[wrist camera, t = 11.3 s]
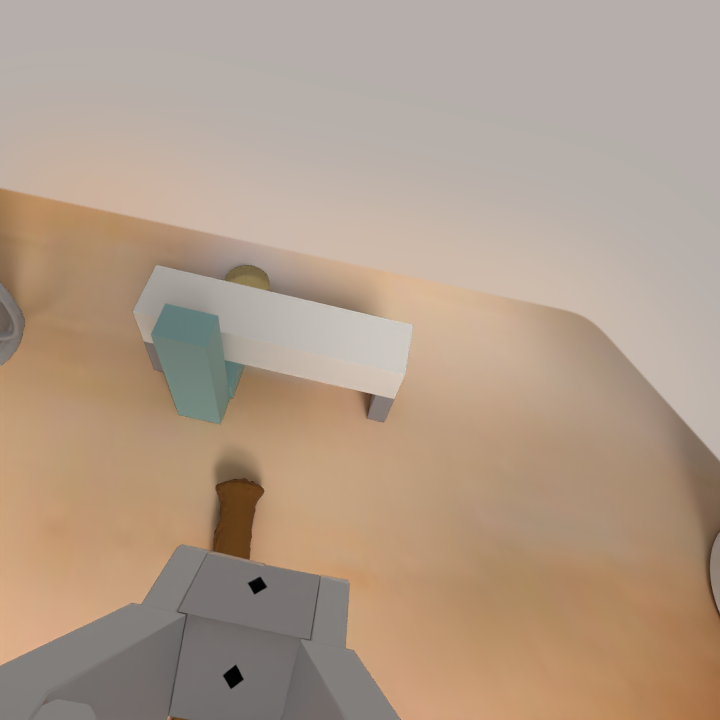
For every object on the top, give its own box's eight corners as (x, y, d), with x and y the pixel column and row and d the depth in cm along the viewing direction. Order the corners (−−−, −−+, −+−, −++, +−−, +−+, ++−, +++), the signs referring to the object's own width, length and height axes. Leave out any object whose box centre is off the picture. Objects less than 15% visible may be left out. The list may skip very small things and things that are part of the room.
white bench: (391, 377, 48) (413, 324, 41) (384, 422, 46) (405, 374, 39) (173, 327, 48) (156, 264, 41) (154, 369, 46) (132, 311, 38)
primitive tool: (245, 797, 33) (243, 809, 30) (151, 803, 32) (139, 815, 29) (266, 487, 42) (265, 472, 39) (194, 485, 42) (188, 470, 39)
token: (274, 283, 52) (274, 271, 51) (262, 315, 50) (262, 304, 49) (233, 273, 52) (232, 261, 51) (220, 305, 50) (218, 293, 49)
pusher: (262, 314, 50) (259, 220, 40) (223, 424, 44) (209, 348, 34) (219, 304, 50) (206, 207, 40) (175, 414, 44) (146, 333, 34)
